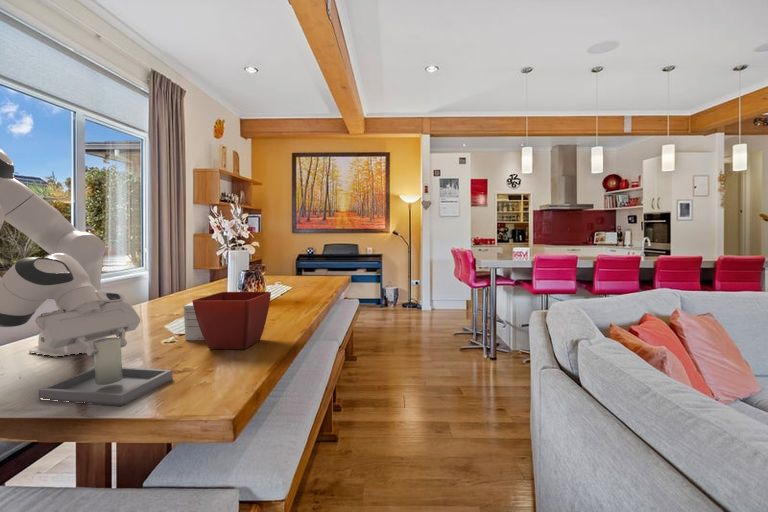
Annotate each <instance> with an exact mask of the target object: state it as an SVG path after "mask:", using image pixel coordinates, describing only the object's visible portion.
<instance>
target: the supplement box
mask: <svg viewBox="0 0 768 512" xmlns="http://www.w3.org/2000/svg"><path fill="white" fill-rule="evenodd" d="M183 319H184V320H183V322H184V335H185V336H184V337H185V338H184V339H185V341H205V339H204V337H203V335H202V332H201V330H200V327H199V324H198V321H197V318H196V315H195V311H194V307H193V301H191V302H190V303H188V304H185V305H183Z"/></svg>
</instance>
